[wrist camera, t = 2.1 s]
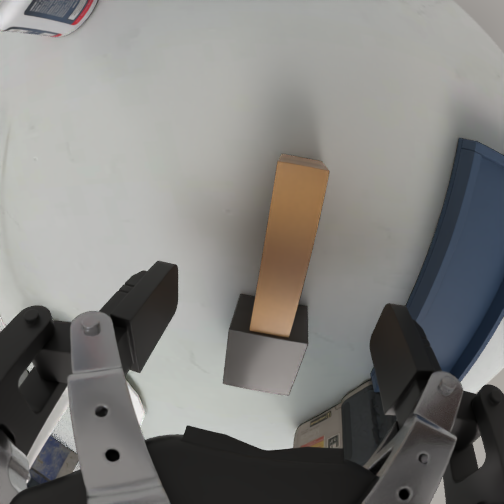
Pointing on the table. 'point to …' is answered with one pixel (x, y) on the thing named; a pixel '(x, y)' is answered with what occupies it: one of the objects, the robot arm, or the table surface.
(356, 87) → the table surface
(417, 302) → the tray
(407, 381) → the robot arm
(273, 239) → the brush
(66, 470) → the building
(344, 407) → the camera
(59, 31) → the pill bottle
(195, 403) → the table surface
